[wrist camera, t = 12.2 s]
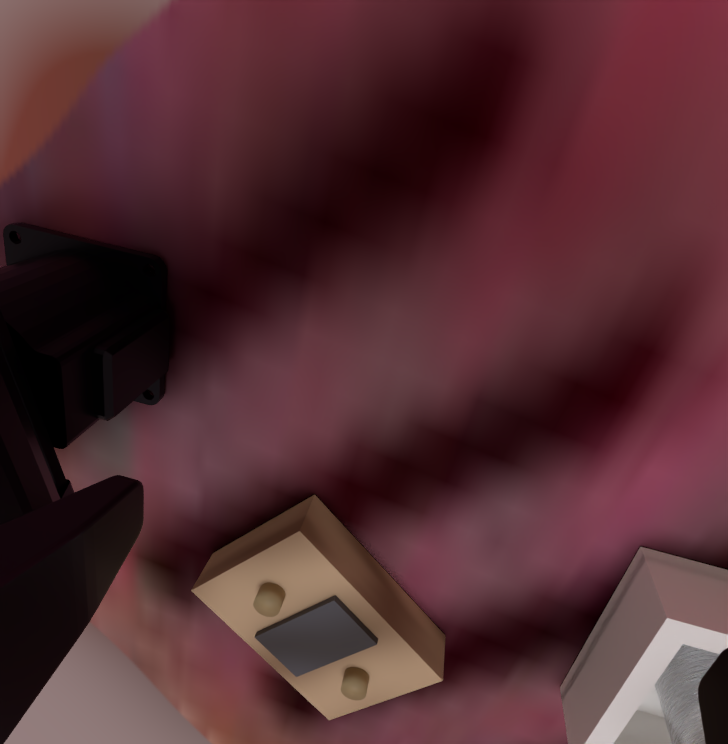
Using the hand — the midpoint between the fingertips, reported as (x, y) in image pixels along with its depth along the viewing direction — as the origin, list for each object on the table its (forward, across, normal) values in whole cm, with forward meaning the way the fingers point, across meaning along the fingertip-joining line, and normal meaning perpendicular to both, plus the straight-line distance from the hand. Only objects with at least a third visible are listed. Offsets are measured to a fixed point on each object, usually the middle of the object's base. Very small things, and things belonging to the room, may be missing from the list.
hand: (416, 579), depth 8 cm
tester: (+13, +2, +16) cm, 21 cm away
